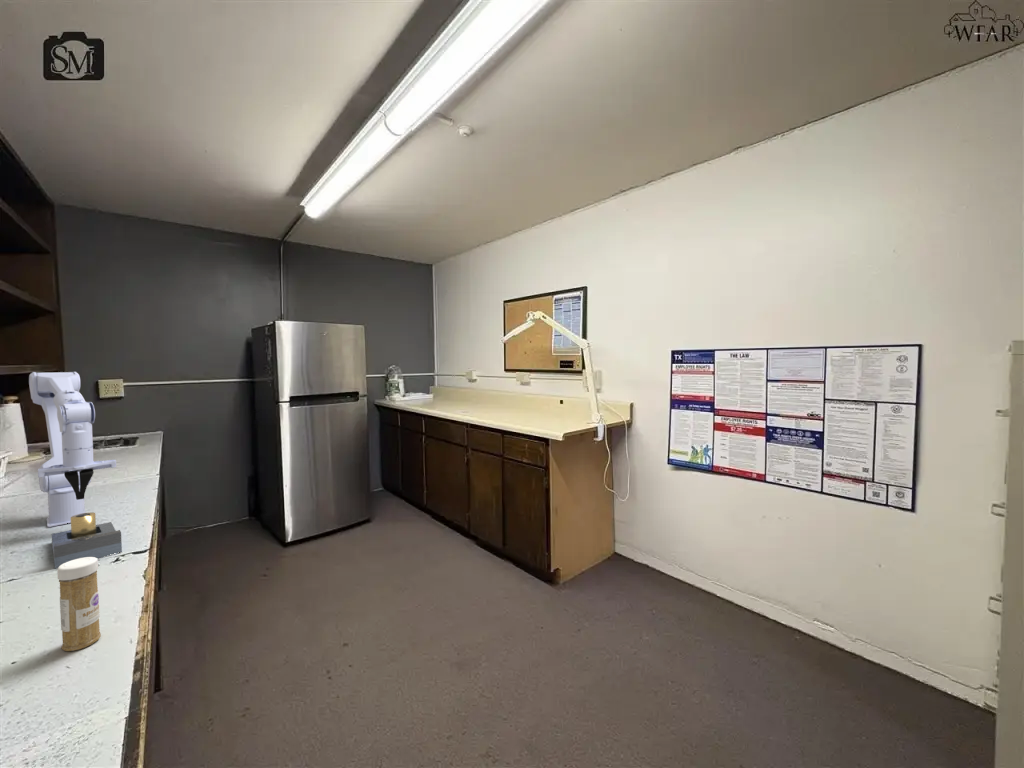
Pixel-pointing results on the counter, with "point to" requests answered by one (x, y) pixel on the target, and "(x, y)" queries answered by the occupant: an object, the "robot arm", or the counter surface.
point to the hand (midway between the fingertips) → (80, 498)
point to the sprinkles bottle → (79, 603)
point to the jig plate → (87, 553)
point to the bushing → (83, 525)
